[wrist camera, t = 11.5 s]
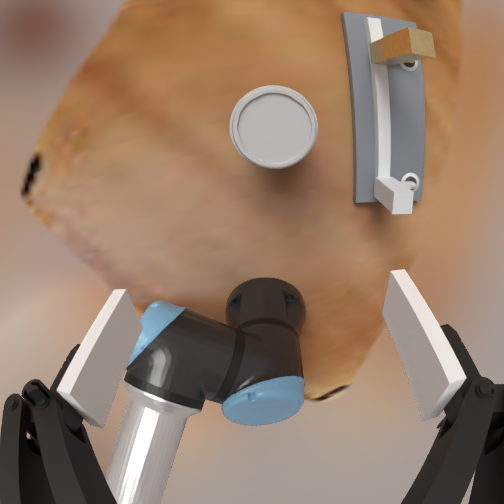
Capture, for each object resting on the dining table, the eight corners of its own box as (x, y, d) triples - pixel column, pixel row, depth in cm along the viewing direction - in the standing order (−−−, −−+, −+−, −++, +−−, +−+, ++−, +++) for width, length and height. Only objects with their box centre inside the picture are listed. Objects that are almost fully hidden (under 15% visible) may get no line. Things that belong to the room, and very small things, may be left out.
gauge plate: (417, 197, 42) (446, 221, 33) (353, 199, 43) (374, 225, 34) (411, 24, 27) (444, 13, 19) (340, 14, 28) (361, -7, 20)
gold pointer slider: (413, 69, 30) (466, 66, 18) (368, 64, 30) (412, 53, 19) (411, 51, 28) (462, 42, 17) (366, 45, 29) (408, 27, 18)
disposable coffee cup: (246, 83, 35) (239, 75, 25) (311, 99, 36) (330, 99, 25) (232, 144, 40) (220, 161, 29) (295, 159, 40) (306, 181, 30)
